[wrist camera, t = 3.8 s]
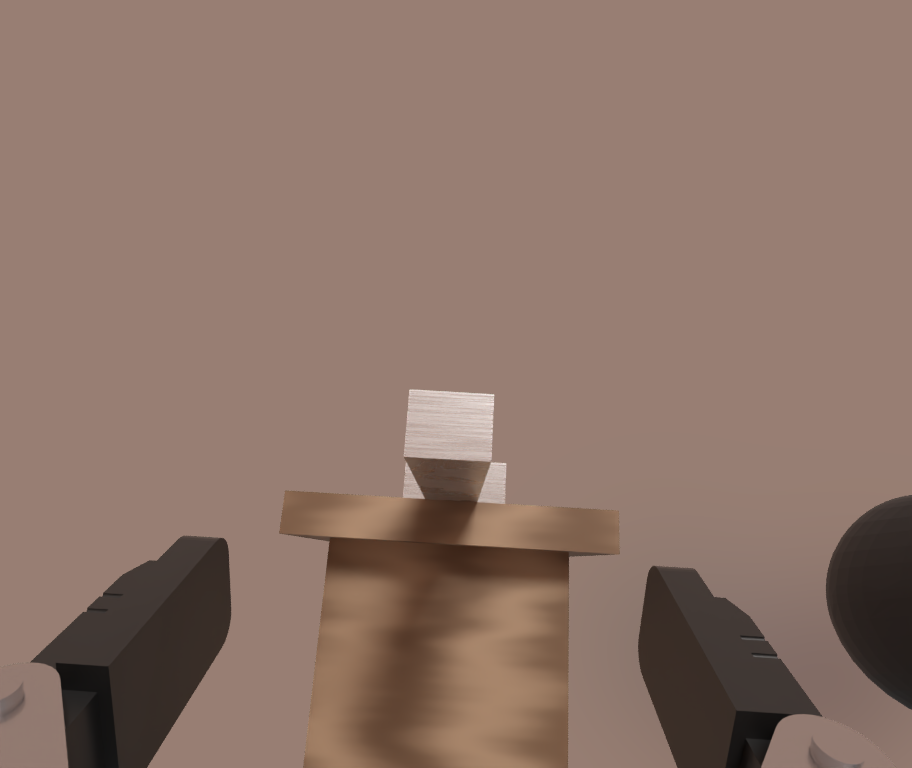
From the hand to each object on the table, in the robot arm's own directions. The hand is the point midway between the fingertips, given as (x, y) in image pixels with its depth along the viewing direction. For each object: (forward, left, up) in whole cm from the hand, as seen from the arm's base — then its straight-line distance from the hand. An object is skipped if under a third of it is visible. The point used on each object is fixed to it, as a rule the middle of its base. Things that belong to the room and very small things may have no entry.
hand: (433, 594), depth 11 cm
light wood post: (0, -21, +3) cm, 21 cm away
